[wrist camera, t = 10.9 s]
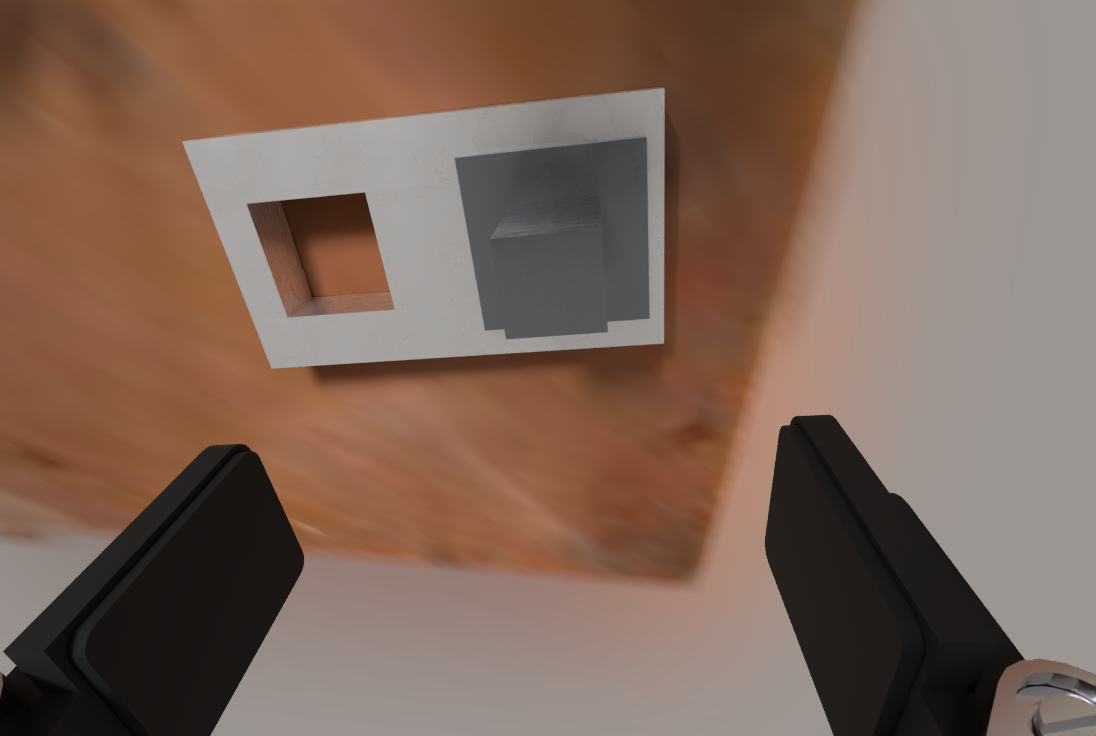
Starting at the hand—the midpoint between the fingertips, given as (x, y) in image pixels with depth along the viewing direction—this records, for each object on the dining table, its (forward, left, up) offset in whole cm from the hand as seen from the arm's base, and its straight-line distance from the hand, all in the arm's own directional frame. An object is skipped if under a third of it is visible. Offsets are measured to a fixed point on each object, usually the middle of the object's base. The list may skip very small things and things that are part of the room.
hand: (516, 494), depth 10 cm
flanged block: (0, 0, -21) cm, 21 cm away
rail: (0, -6, -21) cm, 22 cm away
